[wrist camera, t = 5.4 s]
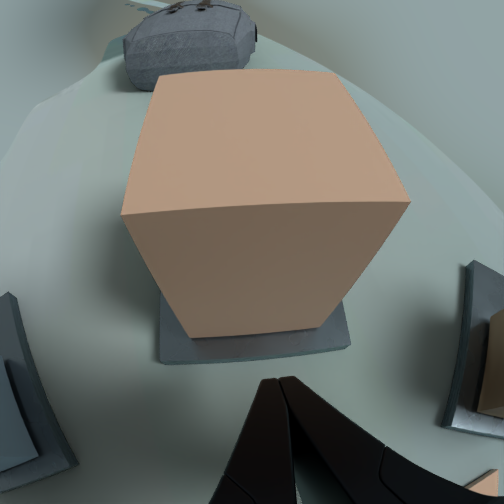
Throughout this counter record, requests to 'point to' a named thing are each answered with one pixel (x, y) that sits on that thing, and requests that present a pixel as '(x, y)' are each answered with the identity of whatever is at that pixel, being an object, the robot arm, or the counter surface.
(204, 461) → the counter surface
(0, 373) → the blue-grey rectangular block
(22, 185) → the counter surface
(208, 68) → the small grey backpack
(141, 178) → the tan block
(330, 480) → the robot arm
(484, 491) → the card
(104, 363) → the counter surface
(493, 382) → the brown wooden block
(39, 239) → the counter surface
